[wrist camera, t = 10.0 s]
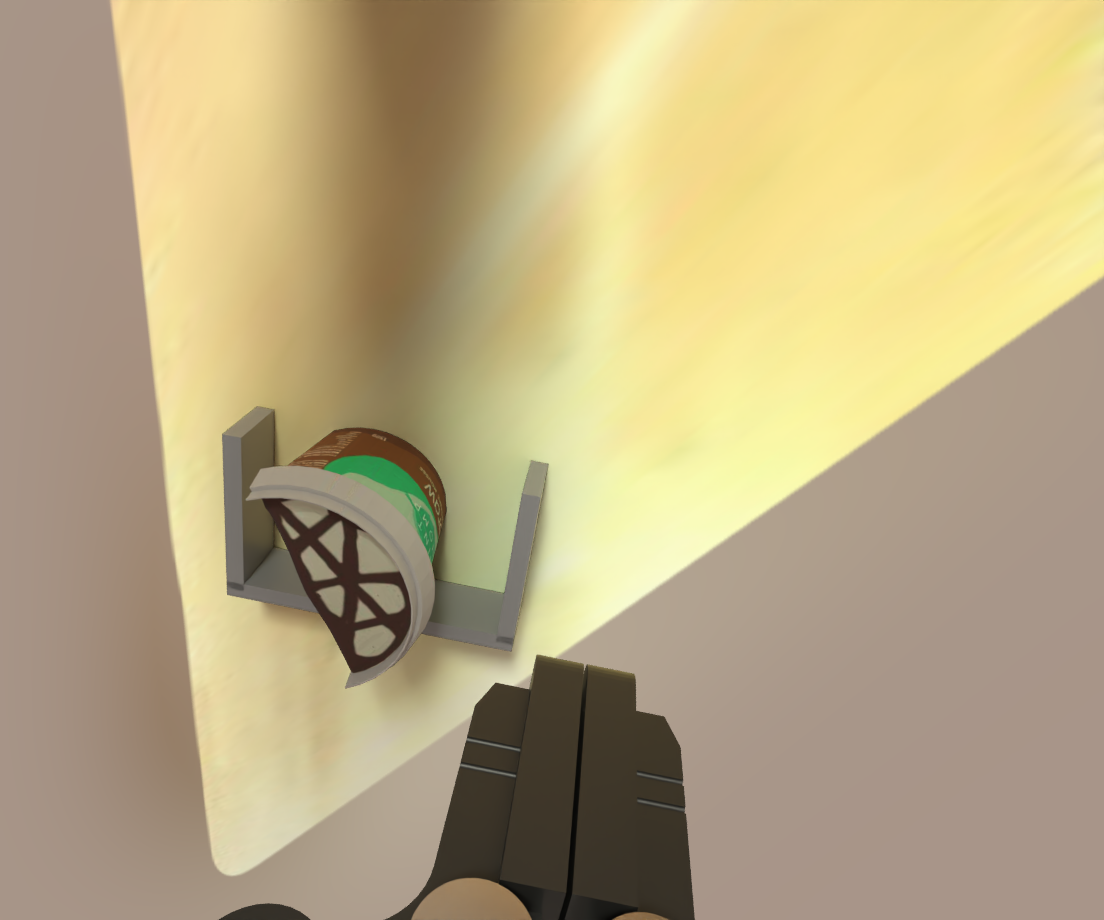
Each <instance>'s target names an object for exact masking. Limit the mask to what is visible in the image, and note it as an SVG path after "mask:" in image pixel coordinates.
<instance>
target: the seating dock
mask: <svg viewBox="0 0 1104 920" xmlns="http://www.w3.org/2000/svg"><path fill="white" fill-rule="evenodd" d="M222 442H223V475H224V507H225V540H226V572H227V595H231V596H236V597H241V598H246V599H251V600H256V601H261V602H266V603H271V604H276V605H281V606H286V607H291V608H296V609H301V610H306V611H311V612H316V613H318V611H317V610H316V608H315V607H314V605H313V604H312V602H311V600H310V599H309V597H308V596H307V594H306V592H305V590H304V588H303V585H302V583H301V581H300V579H299V576H298V574H297V571H296V569H295V566H294V564H293V561H292V558H291V556H290V553H289V551H288V550H284V549H279V548H274V520H273V518H272V517H271V515H270V513H269V512H268V511H267V509H266V508H265V506H264V503H263V501H262V499H255V500H249V501H246V498H247V497H248V496H249V495H250V493H251V492H252V491H251V489H250V486H251V484H252V483H253V481H254V479H255V478H256V476H257V474H258V473H259V471H260V469H264V468H270V467H274V410H273V409H268V408H263V407H258V406H257V407H256V408H254V409H253V410H252V411H251V412H249V413H248V414H247V415H246V416H244V417H243V418H242V419H241V420H239V421H238V422H237V423H236V424H234V425H233V426H232V427H231V428H229V429H228V430H227V431H226V432H224V433H223V434H222ZM547 468H548V464H546V463H541V462H536V461H531V463H530V466H529V470H528V474H527V477H526V481H525V485H524V488H523V492H522V497H521V502H520V508H519V514H518V519H517V525H516V531H515V536H514V542H513V548H512V553H511V559H510V565H509V570H508V576H507V582H506V587H505V593H500V592H495V591H490V590H485V589H480V588H475V587H470V586H465V585H460V584H455V583H450V582H445V581H440V580H435V579H434V580H435V600H434V604H433V608H432V613H431V616H430V618H429V620H428V622H427V624H426V627H425V629H424V630H423V631H422V633H421V634H426V635H431V636H436V637H441V638H446V639H451V640H456V641H461V642H466V643H471V644H476V645H481V646H486V647H491V648H496V649H501V650H506V651H512V647H513V642H514V637H515V633H516V628H517V623H518V619H519V614H520V609H521V604H522V599H523V594H524V589H525V583H526V578H527V573H528V568H529V562H530V557H531V552H532V547H533V541H534V536H535V531H536V526H537V521H538V515H539V510H540V505H541V500H542V494H543V489H544V484H545V479H546V474H547Z"/></svg>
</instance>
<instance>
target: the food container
mask: <svg viewBox="0 0 1104 920" xmlns="http://www.w3.org/2000/svg"><path fill="white" fill-rule="evenodd" d="M250 489H251V491H252V492H251V493H250V495H249V496H248V497H247V498H246V501H249V500H255V499H262V501H263V503H264V506H265V508H266V509H267V511H268V512H269V513H270V515H271V517H272V518H273V520H274V522H275V524H276V526H277V528H278V530H279V532H280V534H281V536H282V538H283V540H284V542H285V544H286V546H287V549H288V551H289V553H290V556H291V558H292V561H293V564H294V566H295V569H296V571H297V574H298V576H299V579H300V581H301V583H302V585H303V588H304V590H305V592H306V594H307V596H308V597H309V599H310V600H311V602H312V604H313V605H314V607H315V608H316V610H317V611H318V613H319V614H320V616H321V617H322V618H323V620H324V621H325V623H326V624H327V626H328V628H329V629H330V631H331V633H332V635H333V637H334V638H335V640H336V642H337V644H338V646H339V648H340V650H341V652H342V654H343V656H344V658H345V660H346V662H347V664H348V666H349V668H350V670H351V673H350V675H349V678H348V681H347V683H346V686H345V688H349V687H353V686H357V685H360V684H363V683H365V682H367V681H370V680H372V679H374V678H376V677H377V676H379V675H380V674H382V673H383V672H385V671H386V670H387V669H389V668H390V667H392V666H393V665H394V664H395V663H397V662H398V661H399V660H400V659H401V658H402V657H403V656H404V655H405V654H406V652H407V651H408V650H409V649H410V647H411V646H412V645H413V643H414V642H415V641H416V640H417V638H418V637H419V635H420V634H421V633H422V631H423V630H424V629H425V627H426V624H427V622H428V620H429V618H430V616H431V613H432V608H433V604H434V600H435V580H434V574H433V567H432V562H433V558H434V554H435V551H436V547H437V544H438V540H439V536H440V533H441V529H442V525H443V522H444V518H445V514H446V510H447V508H446V496H445V490H444V487H443V484H442V481H441V479H440V477H439V475H438V473H437V471H436V470H435V468H434V467H433V466H432V464H431V463H430V461H429V460H428V459H427V458H426V457H425V456H424V455H423V454H422V453H421V452H420V451H419V450H417V449H416V448H415V447H413V446H412V445H411V444H409V443H408V442H406V441H404V440H402V439H401V438H399V437H396V436H394V435H391V434H389V433H387V432H383V431H379V430H375V429H368V428H345V429H340V430H334V431H333V432H332V433H330V434H329V435H328V436H326V437H325V438H324V439H322V440H321V441H320V442H318V443H317V444H316V445H314V446H313V447H312V448H310V449H309V450H308V451H306V452H305V453H304V454H302V455H301V456H300V457H298V458H297V459H296V460H294V461H293V462H292V463H290V464H289V465H288V466H276V467H270V468H264V469H260V471H259V473H258V474H257V476H256V478H255V479H254V481H253V483H252V484H251V486H250Z"/></svg>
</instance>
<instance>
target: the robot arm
mask: <svg viewBox="0 0 1104 920" xmlns="http://www.w3.org/2000/svg"><path fill="white" fill-rule="evenodd" d="M583 673H584V674H583ZM682 783H683V772H682V761H681V748H680V745H679V744H678V742H677V740H676V738H675V736H674V734H673V732H672V730H671V729H670V727H669V725H668V723H667V721H666V719H665V717H664V716H659V715H653V714H649V713H643V712H639V711H636V680H635V675H634V674H632V673H627V672H622V671H618V670H613V669H608V668H603V667H597V666H593V665H587V666H586V668H585V671H584V664H582V663H577V662H572V661H567V660H561V659H557V658H552V657H547V656H542V655H537V656H536V660H535V664H534V669H533V674H532V678H531V683H530V688H529V689H524V688H519V687H514V686H509V685H504V684H499V683H495V684H494V685H493V686H492V687H491V688H490V690H489V691H488V692H487V693H486V694H485V695H484V696H483V698H482V699H481V700H480V701H479V702H478V703H477V704H476V705H475V708H474V712H473V716H472V720H471V724H470V728H469V732H468V735H467V740H466V743H465V747H464V751H463V755H462V759H461V764H460V768H459V771H458V775H457V779H456V782H455V787H454V790H453V794H452V798H451V802H450V806H449V810H448V814H447V818H446V821H445V825H444V830H443V833H442V837H441V841H440V845H439V849H438V853H437V857H436V861H435V864H434V868H433V870H432V874H431V876H430V878H429V880H428V882H427V884H426V886H425V887H424V888H423V890H422V891H421V892H420V894H419V895H418V896H417V897H416V899H414V900H413V901H412V902H411V903H410V904H409V905H408V906H407V907H406V908H404V909H403V910H402V911H400V912H399V913H397V914H395V915H393V916H391V917H390V918H388V919H385V920H695V918H694V907H693V895H692V882H691V869H690V857H689V846H688V834H687V822H686V814H685V813H684V812H685V796H684V786H682ZM219 920H310V919H309V918H308V917H307V916H305V915H304V914H303V913H301V912H300V911H297V910H295V909H293V908H291V907H288V906H284V905H280V904H257V905H252V906H248V907H244V908H241V909H239V910H236V911H234V912H232V913H230V914H228V915H226V916H224V917H223V918H221V919H219Z"/></svg>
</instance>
